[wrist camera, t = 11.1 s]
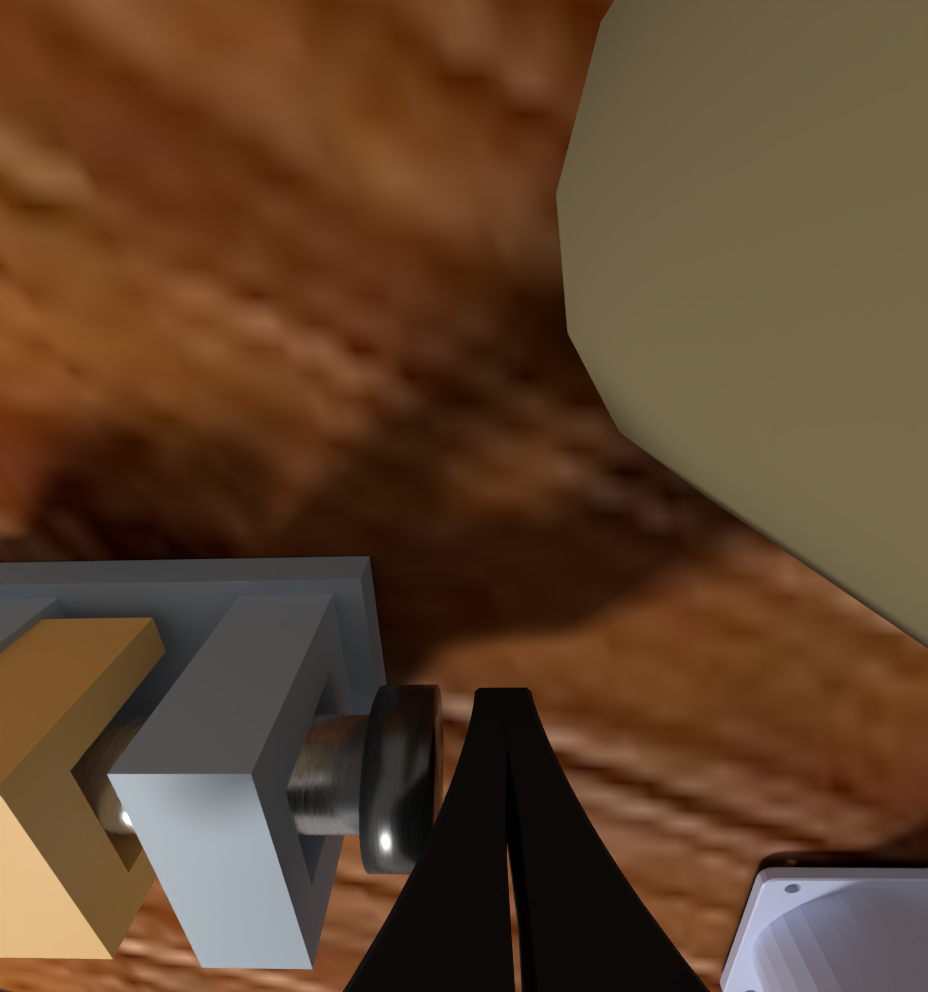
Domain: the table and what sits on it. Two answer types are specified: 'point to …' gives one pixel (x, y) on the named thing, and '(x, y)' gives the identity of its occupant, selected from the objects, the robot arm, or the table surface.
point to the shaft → (331, 776)
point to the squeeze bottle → (765, 269)
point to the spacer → (66, 788)
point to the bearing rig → (226, 728)
